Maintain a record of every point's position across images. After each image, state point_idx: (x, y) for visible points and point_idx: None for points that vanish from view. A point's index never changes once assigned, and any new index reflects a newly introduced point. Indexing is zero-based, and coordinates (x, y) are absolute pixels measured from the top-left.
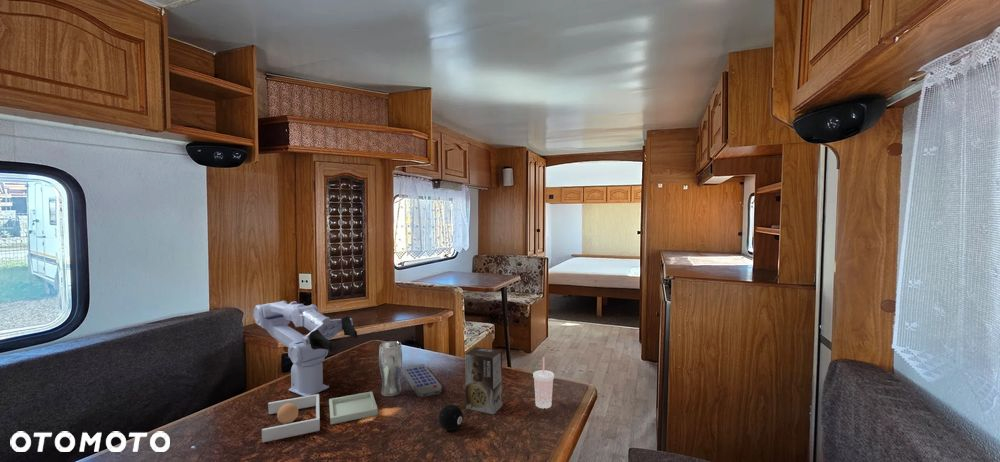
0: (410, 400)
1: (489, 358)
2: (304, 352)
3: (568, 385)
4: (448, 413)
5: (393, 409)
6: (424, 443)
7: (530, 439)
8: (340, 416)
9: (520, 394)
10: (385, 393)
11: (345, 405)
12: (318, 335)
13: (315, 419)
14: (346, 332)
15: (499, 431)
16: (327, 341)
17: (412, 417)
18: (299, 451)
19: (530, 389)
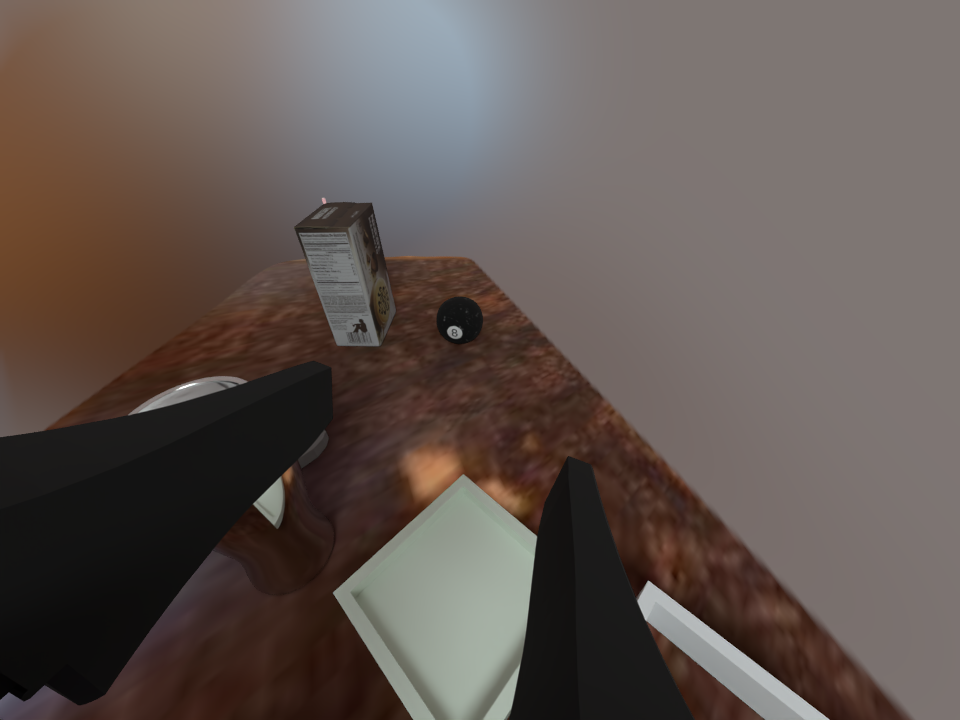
0: (355, 455)
1: (371, 207)
2: None
3: (273, 274)
4: (475, 303)
5: (420, 465)
6: (523, 349)
7: (451, 273)
8: None
9: (309, 305)
10: (329, 542)
11: (454, 650)
12: (642, 705)
13: (662, 595)
14: (166, 572)
15: (444, 296)
16: (591, 489)
17: (445, 405)
18: (743, 555)
19: (287, 301)
